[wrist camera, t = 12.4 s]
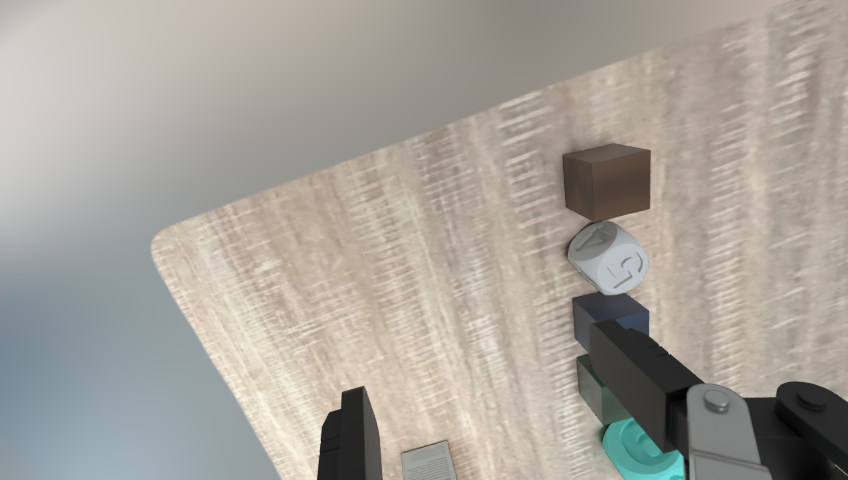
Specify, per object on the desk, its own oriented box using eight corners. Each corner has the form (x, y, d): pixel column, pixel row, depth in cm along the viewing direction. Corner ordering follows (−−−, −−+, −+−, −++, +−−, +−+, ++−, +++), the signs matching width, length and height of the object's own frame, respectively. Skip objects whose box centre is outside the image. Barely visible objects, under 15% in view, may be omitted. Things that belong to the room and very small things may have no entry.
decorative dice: (616, 468, 51) (659, 531, 44) (591, 430, 48) (633, 491, 41) (671, 435, 51) (724, 494, 43) (649, 395, 48) (702, 450, 40)
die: (559, 250, 40) (585, 270, 35) (598, 214, 39) (630, 230, 34) (586, 281, 41) (615, 304, 37) (625, 247, 41) (659, 267, 36)
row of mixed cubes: (562, 154, 36) (591, 163, 32) (614, 143, 37) (651, 149, 32) (578, 392, 46) (603, 426, 41) (619, 381, 46) (648, 413, 42)
